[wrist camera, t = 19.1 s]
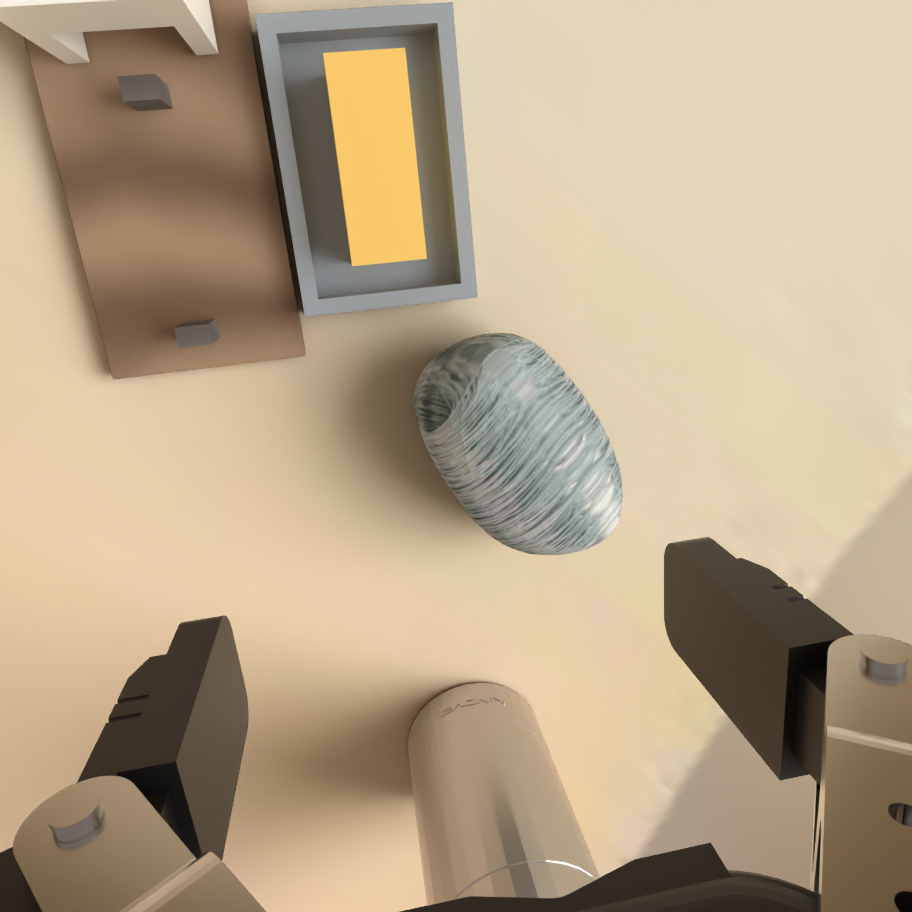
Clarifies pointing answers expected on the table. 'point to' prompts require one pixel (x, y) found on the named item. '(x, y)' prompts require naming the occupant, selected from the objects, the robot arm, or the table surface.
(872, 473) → the table surface
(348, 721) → the table surface
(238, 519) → the table surface
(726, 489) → the table surface
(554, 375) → the streaked grey-blue ovoid
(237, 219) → the clamp board
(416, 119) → the tray
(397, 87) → the yellow rectangular block
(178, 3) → the white stepped block
